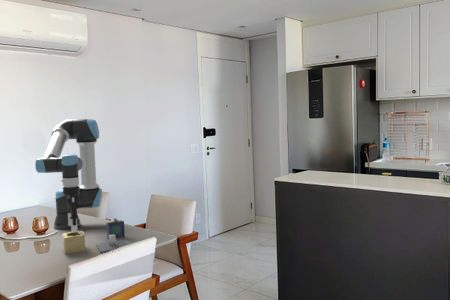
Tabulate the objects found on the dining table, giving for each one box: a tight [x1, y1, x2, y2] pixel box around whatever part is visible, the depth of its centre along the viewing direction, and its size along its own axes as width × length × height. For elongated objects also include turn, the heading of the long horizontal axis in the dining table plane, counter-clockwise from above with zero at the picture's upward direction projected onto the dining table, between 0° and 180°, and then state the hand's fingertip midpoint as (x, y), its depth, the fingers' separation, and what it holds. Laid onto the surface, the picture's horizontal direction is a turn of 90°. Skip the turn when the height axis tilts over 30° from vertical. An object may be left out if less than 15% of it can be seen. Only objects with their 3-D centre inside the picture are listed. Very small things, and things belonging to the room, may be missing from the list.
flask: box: [106, 217, 125, 240], centre depth 227 cm, size 9×3×11 cm, turn 109°
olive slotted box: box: [61, 230, 86, 255], centre depth 207 cm, size 10×10×8 cm
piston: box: [95, 235, 129, 254], centre depth 210 cm, size 14×14×6 cm
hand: (72, 228), depth 206 cm, fingers open, 13 cm apart
